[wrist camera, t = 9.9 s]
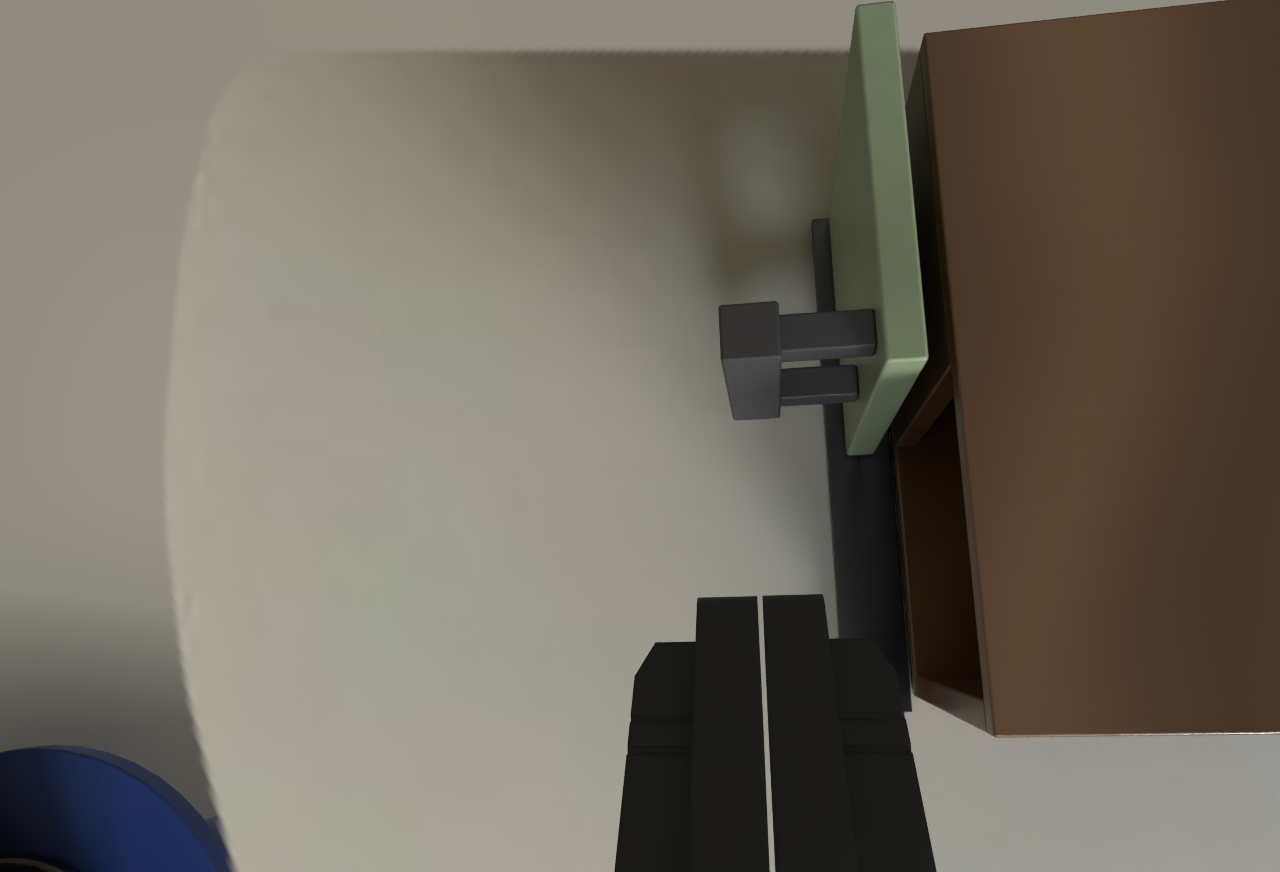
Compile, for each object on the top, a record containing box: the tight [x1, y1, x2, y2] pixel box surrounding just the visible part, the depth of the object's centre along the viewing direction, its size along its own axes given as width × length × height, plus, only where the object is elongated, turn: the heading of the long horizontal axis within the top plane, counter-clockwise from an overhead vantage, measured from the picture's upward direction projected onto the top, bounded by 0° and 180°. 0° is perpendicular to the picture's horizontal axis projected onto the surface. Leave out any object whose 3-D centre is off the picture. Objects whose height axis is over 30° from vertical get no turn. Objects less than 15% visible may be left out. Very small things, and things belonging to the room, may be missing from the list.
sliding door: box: [719, 1, 929, 455], centre depth 23 cm, size 4×8×10 cm, turn 2°
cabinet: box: [811, 0, 1280, 738], centre depth 22 cm, size 13×15×10 cm
